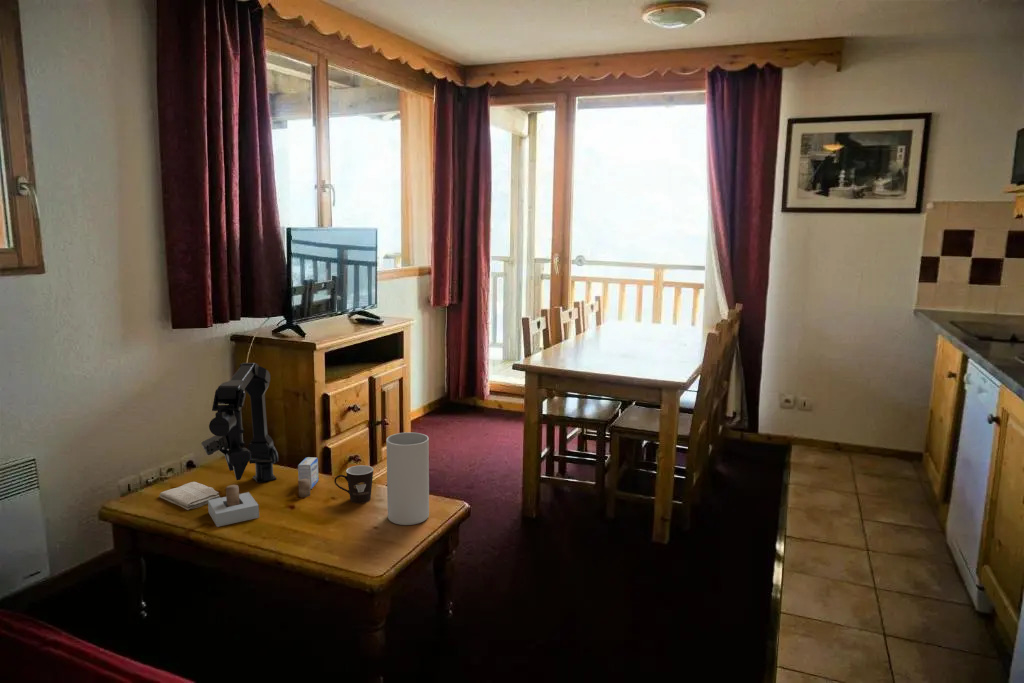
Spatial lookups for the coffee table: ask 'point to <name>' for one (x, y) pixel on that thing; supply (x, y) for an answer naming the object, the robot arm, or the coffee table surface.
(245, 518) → the socket block
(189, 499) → the washcloth
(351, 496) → the coffee mug
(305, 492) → the short dowel
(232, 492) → the long dowel
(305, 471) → the medicine box
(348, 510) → the coffee table surface
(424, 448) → the cylinder vase
